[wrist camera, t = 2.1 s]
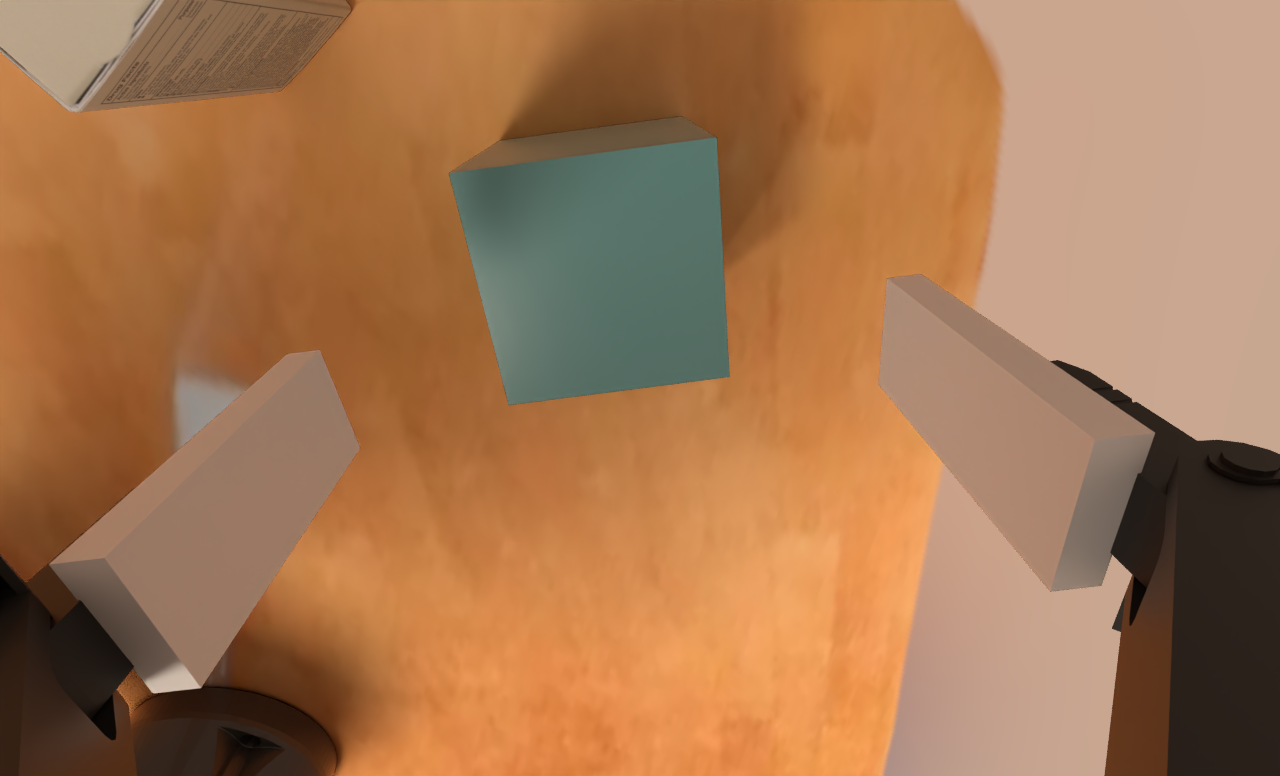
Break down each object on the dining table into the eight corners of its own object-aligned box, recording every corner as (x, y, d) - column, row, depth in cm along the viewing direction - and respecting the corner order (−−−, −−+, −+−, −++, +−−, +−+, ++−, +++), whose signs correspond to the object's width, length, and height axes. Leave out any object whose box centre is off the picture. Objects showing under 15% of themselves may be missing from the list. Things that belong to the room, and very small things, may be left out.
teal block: (536, 312, 30) (508, 405, 22) (499, 140, 27) (448, 173, 18) (695, 291, 30) (729, 376, 22) (682, 116, 26) (716, 137, 18)
